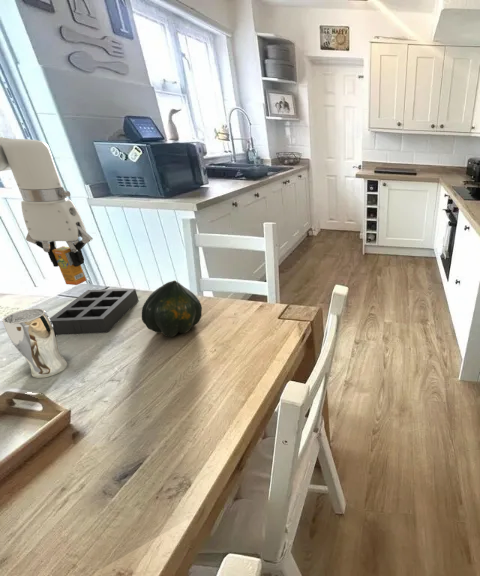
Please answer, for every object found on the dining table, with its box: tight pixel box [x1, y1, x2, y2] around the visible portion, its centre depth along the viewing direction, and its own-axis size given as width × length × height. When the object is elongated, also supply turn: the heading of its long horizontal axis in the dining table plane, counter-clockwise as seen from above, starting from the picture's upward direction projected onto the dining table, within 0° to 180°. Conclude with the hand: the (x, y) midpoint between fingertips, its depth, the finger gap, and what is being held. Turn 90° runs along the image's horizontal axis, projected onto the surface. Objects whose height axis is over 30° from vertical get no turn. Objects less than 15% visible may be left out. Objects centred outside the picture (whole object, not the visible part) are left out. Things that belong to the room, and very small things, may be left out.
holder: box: [49, 288, 140, 336], centre depth 97 cm, size 13×19×4 cm
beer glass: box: [2, 307, 68, 379], centre depth 74 cm, size 7×7×15 cm
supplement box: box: [52, 245, 87, 286], centre depth 87 cm, size 3×3×10 cm
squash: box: [141, 280, 203, 338], centre depth 93 cm, size 14×15×15 cm
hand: (69, 264), depth 86 cm, fingers closed on supplement box, 3 cm apart
